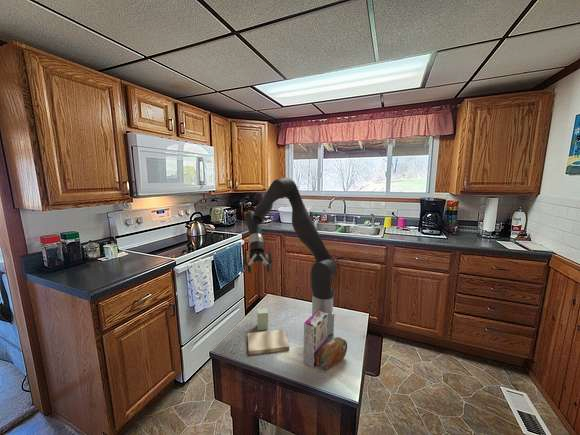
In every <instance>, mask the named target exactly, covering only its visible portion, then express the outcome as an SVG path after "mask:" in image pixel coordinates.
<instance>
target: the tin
mask: <svg viewBox="0 0 580 435" xmlns="http://www.w3.org/2000/svg"><path fill="white" fill-rule="evenodd" d="M347 350H348V342H347V341H346V339H344V338H341V337H335V338H333V339H331V340H329V341H327V343H326V344H325V345H323V346H322V347H321V348H320V349H319V351H318V353H317V358H316V363H317V366H316V367H318V368H319V369H321V370H322V371H324V372H327V371H329V370H330V369H332V368H334V367H335V366H336V365H337V364H339V363H340V362H342V361H343V360H344V358H345V357H346V355H347Z"/></svg>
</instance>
